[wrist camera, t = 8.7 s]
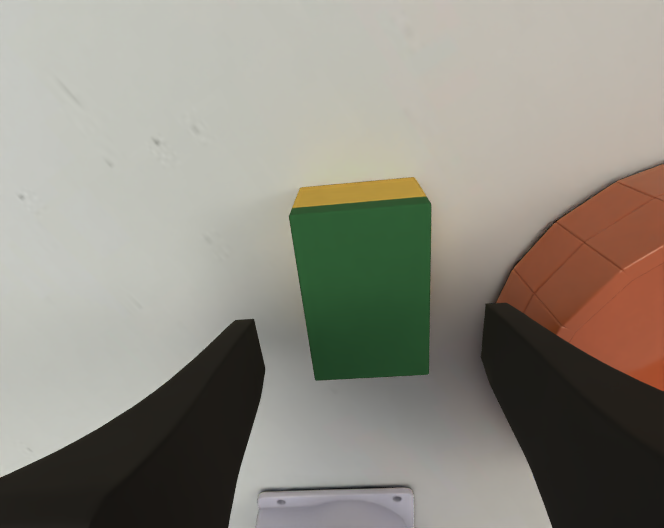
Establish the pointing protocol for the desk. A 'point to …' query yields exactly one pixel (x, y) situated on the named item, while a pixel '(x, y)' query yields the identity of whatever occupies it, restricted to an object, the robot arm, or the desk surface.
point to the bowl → (603, 277)
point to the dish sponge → (365, 277)
